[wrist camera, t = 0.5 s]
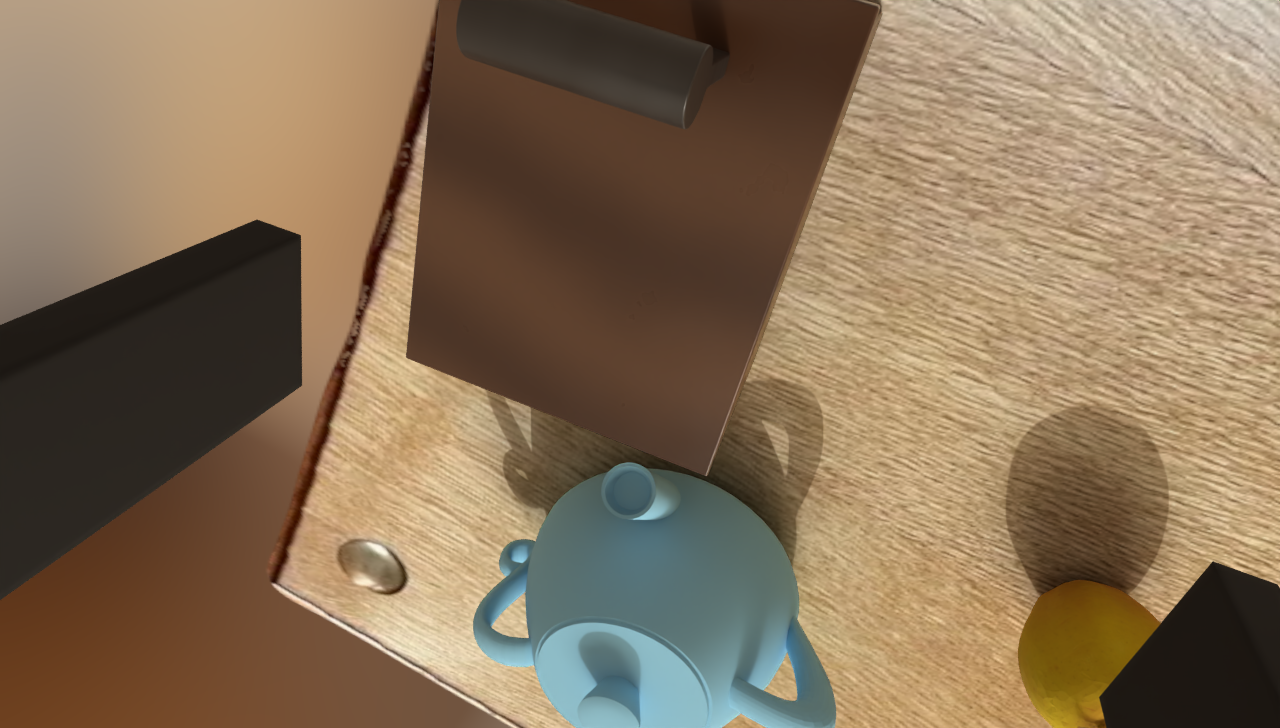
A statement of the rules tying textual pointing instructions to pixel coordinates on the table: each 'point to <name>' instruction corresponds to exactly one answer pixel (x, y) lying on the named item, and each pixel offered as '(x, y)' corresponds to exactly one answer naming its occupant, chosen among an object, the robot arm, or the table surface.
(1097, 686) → the apple
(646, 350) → the lid
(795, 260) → the table surface
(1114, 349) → the table surface
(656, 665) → the teapot
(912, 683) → the table surface
